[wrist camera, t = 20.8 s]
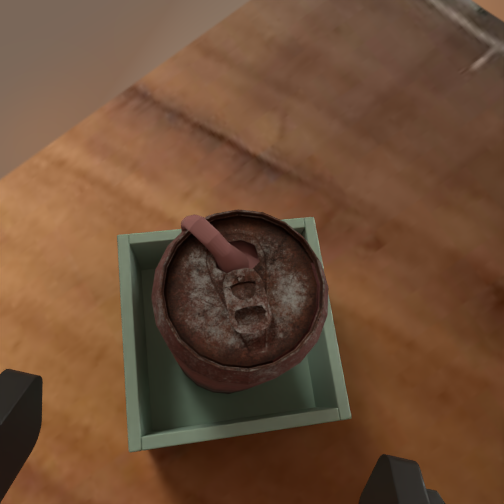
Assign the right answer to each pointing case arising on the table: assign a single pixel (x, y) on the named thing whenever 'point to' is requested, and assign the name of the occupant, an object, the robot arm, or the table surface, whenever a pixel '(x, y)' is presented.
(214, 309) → the can
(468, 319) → the table surface
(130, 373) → the green tray box
